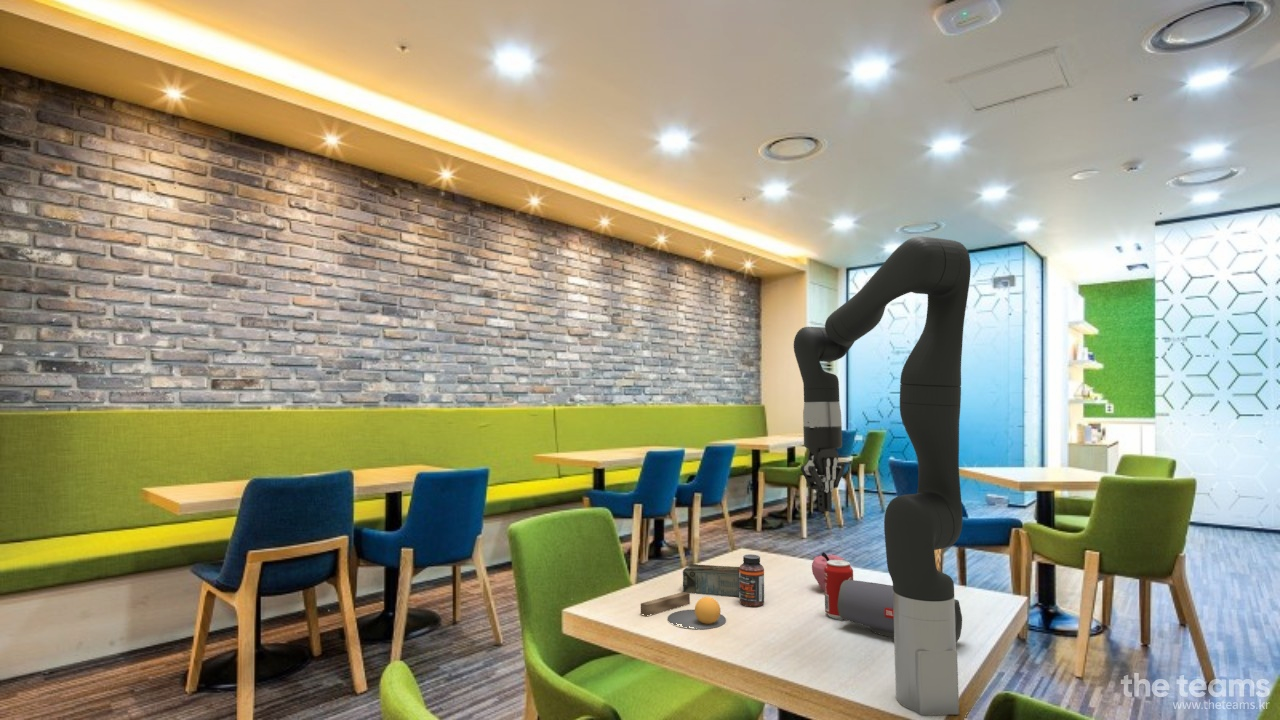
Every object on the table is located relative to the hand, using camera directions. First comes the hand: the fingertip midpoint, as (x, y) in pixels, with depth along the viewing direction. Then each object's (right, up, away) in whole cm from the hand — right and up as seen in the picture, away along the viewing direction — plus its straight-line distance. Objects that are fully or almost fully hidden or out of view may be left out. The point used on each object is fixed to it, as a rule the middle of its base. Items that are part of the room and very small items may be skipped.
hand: (824, 510), depth 133 cm
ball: (-22, -25, +12) cm, 35 cm away
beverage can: (+8, -28, +16) cm, 33 cm away
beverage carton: (-16, -30, +36) cm, 50 cm away
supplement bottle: (-10, -29, +26) cm, 40 cm away
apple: (+11, -29, +36) cm, 48 cm away
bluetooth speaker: (+16, -27, +4) cm, 32 cm away
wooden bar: (-31, -28, +22) cm, 47 cm away
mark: (-25, -28, +14) cm, 40 cm away
